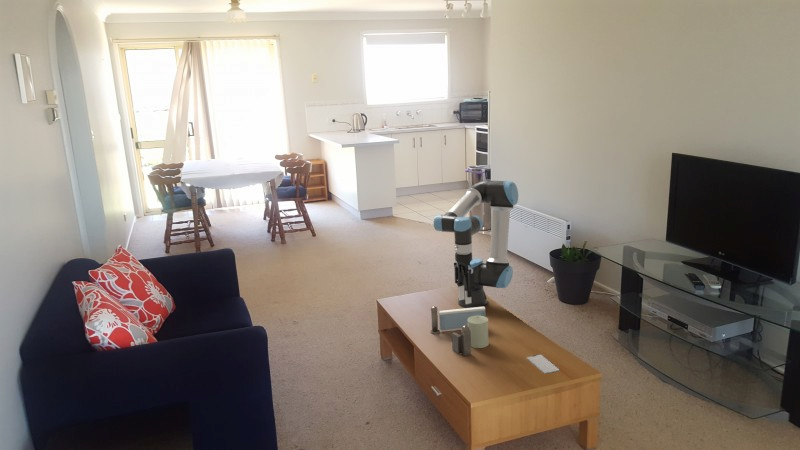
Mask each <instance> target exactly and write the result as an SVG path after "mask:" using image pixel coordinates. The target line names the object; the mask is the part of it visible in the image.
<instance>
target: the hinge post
mask: <svg viewBox="0 0 800 450" xmlns="http://www.w3.org/2000/svg"><path fill="white" fill-rule="evenodd" d="M438 311H439V310H438V306H431V308H430V312H431V330H430V331H429V332H430V333H431V334H432V335H438V334H440V333H441V330H440V329H439V323H438V322H439V321H438V320H439V319H438V318H439V315H438Z"/></svg>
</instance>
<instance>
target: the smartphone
mask: <svg viewBox="0 0 800 450" xmlns="http://www.w3.org/2000/svg"><path fill="white" fill-rule="evenodd" d="M525 359H526V360H527V361H529V362H530V363H531V364H532V365H533V366H534V367H536V368H537V369H538V371H540V372H541V373H542V374H544V375H545V374H546V375H547V374H552V373H556V372H560V371H561V369H560V368H559V367H558V366H557V365H555V364H554V363H552V362H551V361H550V360H549V359H548V358H547V357H545V356H544V355H543V354H541V353H540V354H536V355H529V356H527V357H525Z"/></svg>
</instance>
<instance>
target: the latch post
mask: <svg viewBox="0 0 800 450" xmlns="http://www.w3.org/2000/svg"><path fill="white" fill-rule="evenodd" d="M451 347H452V351H453V352H455V353H456V354H457V355H463V356H465V357H466V356H470V355H472V347H471V331H470V328H469V327H468V326H467V325H464V326H463V327H462V328H461V329H460V334H458V333H457V332H456V331H455V332H451Z"/></svg>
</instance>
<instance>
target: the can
mask: <svg viewBox="0 0 800 450" xmlns="http://www.w3.org/2000/svg"><path fill="white" fill-rule="evenodd" d="M467 320H468V327H469V328H470V331H471V348H474V349H483V348H484V349H485V348H486V347H488V346H489V344H490V342H489V318H488V317H487V316H485V317H484V316H471V317H469V318H468V319H467Z"/></svg>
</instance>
